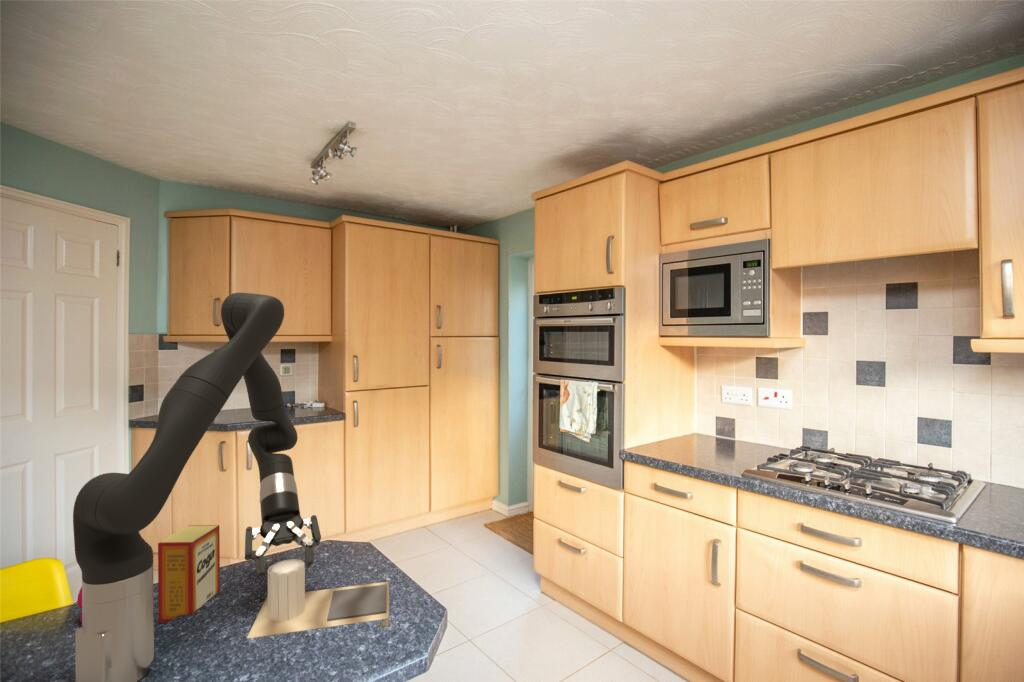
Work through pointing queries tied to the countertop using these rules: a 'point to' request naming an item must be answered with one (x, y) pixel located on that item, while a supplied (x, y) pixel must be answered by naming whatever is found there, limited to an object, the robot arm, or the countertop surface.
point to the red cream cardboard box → (188, 570)
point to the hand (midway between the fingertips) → (286, 571)
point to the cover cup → (286, 590)
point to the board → (330, 610)
